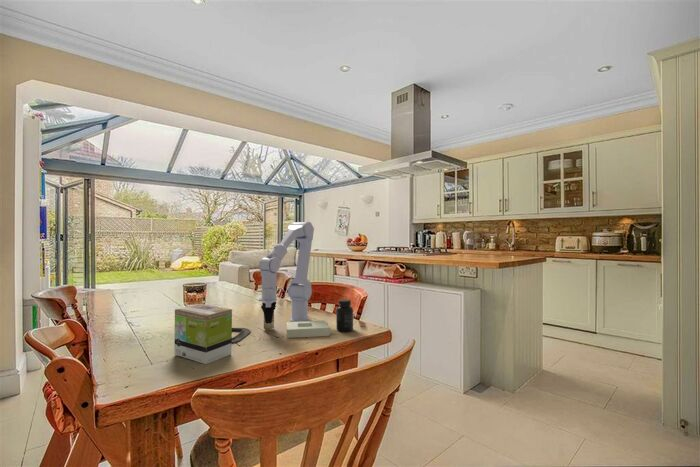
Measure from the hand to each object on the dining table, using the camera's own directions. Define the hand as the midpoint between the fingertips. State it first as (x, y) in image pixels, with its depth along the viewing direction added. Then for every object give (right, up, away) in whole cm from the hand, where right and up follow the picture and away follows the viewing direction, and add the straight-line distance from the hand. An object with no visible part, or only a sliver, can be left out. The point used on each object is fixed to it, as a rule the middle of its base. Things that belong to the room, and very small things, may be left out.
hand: (268, 321), depth 132 cm
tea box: (-14, -3, -28) cm, 32 cm away
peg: (0, -3, 0) cm, 2 cm away
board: (+16, -4, -3) cm, 16 cm away
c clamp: (-15, -4, -10) cm, 18 cm away
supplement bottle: (+30, -4, +1) cm, 31 cm away
